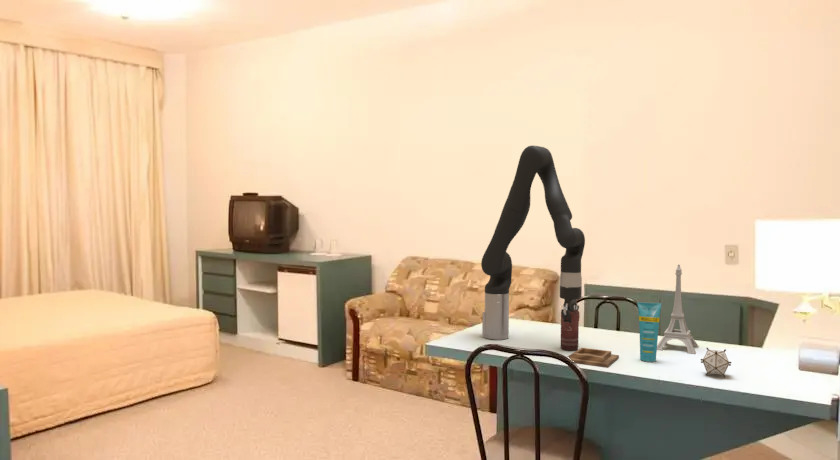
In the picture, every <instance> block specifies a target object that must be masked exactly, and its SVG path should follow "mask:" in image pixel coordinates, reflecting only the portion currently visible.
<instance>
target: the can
mask: <svg viewBox="0 0 840 460" xmlns="http://www.w3.org/2000/svg"><path fill="white" fill-rule="evenodd" d="M570 316H571V321H572V322H571V323H570V322H564V320H563V316H562V313H561V312H560V349H561V350H563V351H566V352H567V351H568V352H575V351H577V350H579V332H580V331H579V324H580V317H581V315H580V310H575V311H571V312H570ZM565 320H569V319H568V318H565Z"/></svg>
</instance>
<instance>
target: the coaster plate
mask: <svg viewBox="0 0 840 460" xmlns="http://www.w3.org/2000/svg"><path fill="white" fill-rule="evenodd" d="M567 357H569V358H570V359H571V360H572V361H574V362H575V363H574V364H578V365H586V366H593V367H594V366H595V367H602V368H606V369H607V368H609V367H611V365H612V364H614V363H615V362H616V361H617V360H618V359H620V355H619V354H612V351H611V350H606V349H605V350H604V349H596V348H589V347H588V348H587V347H580V348H578V349H577V350H576V351H573V352H572V353H571V354H569V355H568V356H567Z"/></svg>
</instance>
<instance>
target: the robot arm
mask: <svg viewBox="0 0 840 460" xmlns="http://www.w3.org/2000/svg"><path fill="white" fill-rule="evenodd" d="M514 175H515V176H514V179H513V181H512V184H511V187H510V190H509V192H508V195H507V198H506V200H505V203H504V206H503V208H502V210H501V214H500V217H499V219H498V222H497V224H496V226H495V229H494V231H493V235H492V236H491V239H490V241H489V244H488V245H487V248H486V249H485V251H484V254H483V255H482V258H481V263H480V264H481V270H482V271H483V273H484V274H485V275H486V276H489V280H488V281H487V283H485V285H484V311H483V312H482V318H481V319H482V320H481V321H482V329H481V331H482V336H481V338H485V339H488V340H498V341H499V340H501V341H502V340H508V339H509V337H510V335H509V331H510V329H509V328H510V317H509V316H510V287H511V286H512V277H513V275H512V272H513V262H512V258H511V255H510V254H509V252H507V250H508V248H509V246H510V243H511V242H512V241H513V239H514V238H515V237H516V236H517V234H518V233H519V232H520V231H521V229H522V227H523V226H524V225H525V222H526V219H527V217H528V215H529V212H530V210H531V209H530V208H531V188H532V185H533V183H534V182H533V181H534V179H535V176H536V175H538V176H539V179H540V180H541V183H542V185H543V190H544V191H543V192H544V199H545V204H546V208H547V210H548V213H549V215H550V217H551V220H552V222H553V228H554V233H555V238H556V241H557V242H558V244H559V245H560V247H562V248H563V249H565V253H564V255H563V256H561V257H560V275H559V298H560V299H563V300H564V302H563V305H562V306H563V307H562V309H561V311H560V314H561V313H562V316H563V320H564V322H570V323H571V322H572V321H571V316H570V312H571V311H575V310H578V311H580V310H579V309H580V305H578V303H577V302H578V301H577V300H580V299H582V295H583V294H582V292H583V291H582V287H583V286H582V283H583V282H582V281H583V280H582V279H583V278H582V257H583V256H584V255H583V254H584V249H585V245H586V237H585V233H584V232H583V230H582V229H580V228H577V227H573V226H572V222H571V220H572V219H573V214H572V211H571V208H570V206H569V204H568V201H567V199H566V197H565V195H564V193H563V190H562V187H561V184H560V180H559V177H558V173H557V171H556V167H555V162H554V159H553V155H552V153H551V151H550V150H549V148H546V147H545V146H540V145H539V146H538V145H529V146H526V147H525V148H524V149H523V151H522V152H521V154H520V157H519V160H518V163H517V168H516V172H515V174H514ZM565 318H568V319H569V320H565Z"/></svg>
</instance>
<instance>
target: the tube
mask: <svg viewBox="0 0 840 460" xmlns="http://www.w3.org/2000/svg"><path fill="white" fill-rule="evenodd" d="M636 303H637V304H636V305H637V309H638V310H637V311H638V322H639V323H638V325H639V328H638V329H639V359H640V361H643V362H646V363H654V362H656V361H657V352H658V350H657V345H658V337H659V327H660V318H661V312H662V310H661V309H662V302H645V301H643V302H641V301H637V302H636Z"/></svg>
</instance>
